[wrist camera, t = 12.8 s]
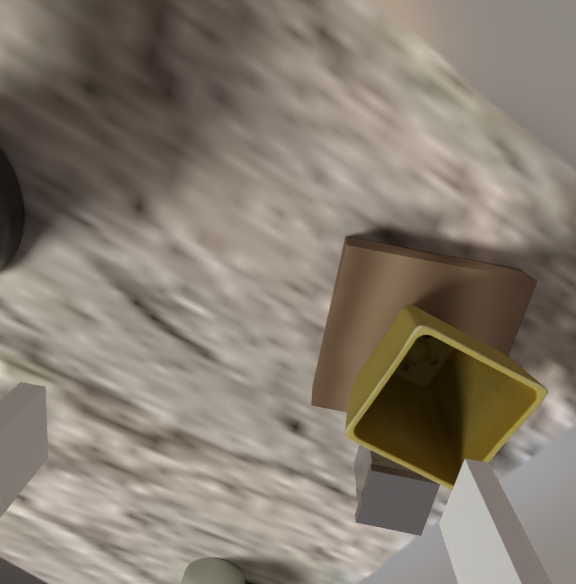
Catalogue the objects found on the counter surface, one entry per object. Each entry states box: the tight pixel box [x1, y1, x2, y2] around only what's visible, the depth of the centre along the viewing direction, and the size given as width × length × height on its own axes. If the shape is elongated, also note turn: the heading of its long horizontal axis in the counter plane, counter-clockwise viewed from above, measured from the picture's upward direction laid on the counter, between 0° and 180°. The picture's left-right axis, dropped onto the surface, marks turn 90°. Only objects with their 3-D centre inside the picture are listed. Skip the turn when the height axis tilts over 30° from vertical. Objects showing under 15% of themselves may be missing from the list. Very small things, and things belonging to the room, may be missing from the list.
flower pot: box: [345, 305, 548, 490], centre depth 30 cm, size 9×9×9 cm
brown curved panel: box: [311, 237, 537, 412], centre depth 36 cm, size 14×14×3 cm
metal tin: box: [354, 445, 440, 536], centre depth 38 cm, size 5×5×7 cm
